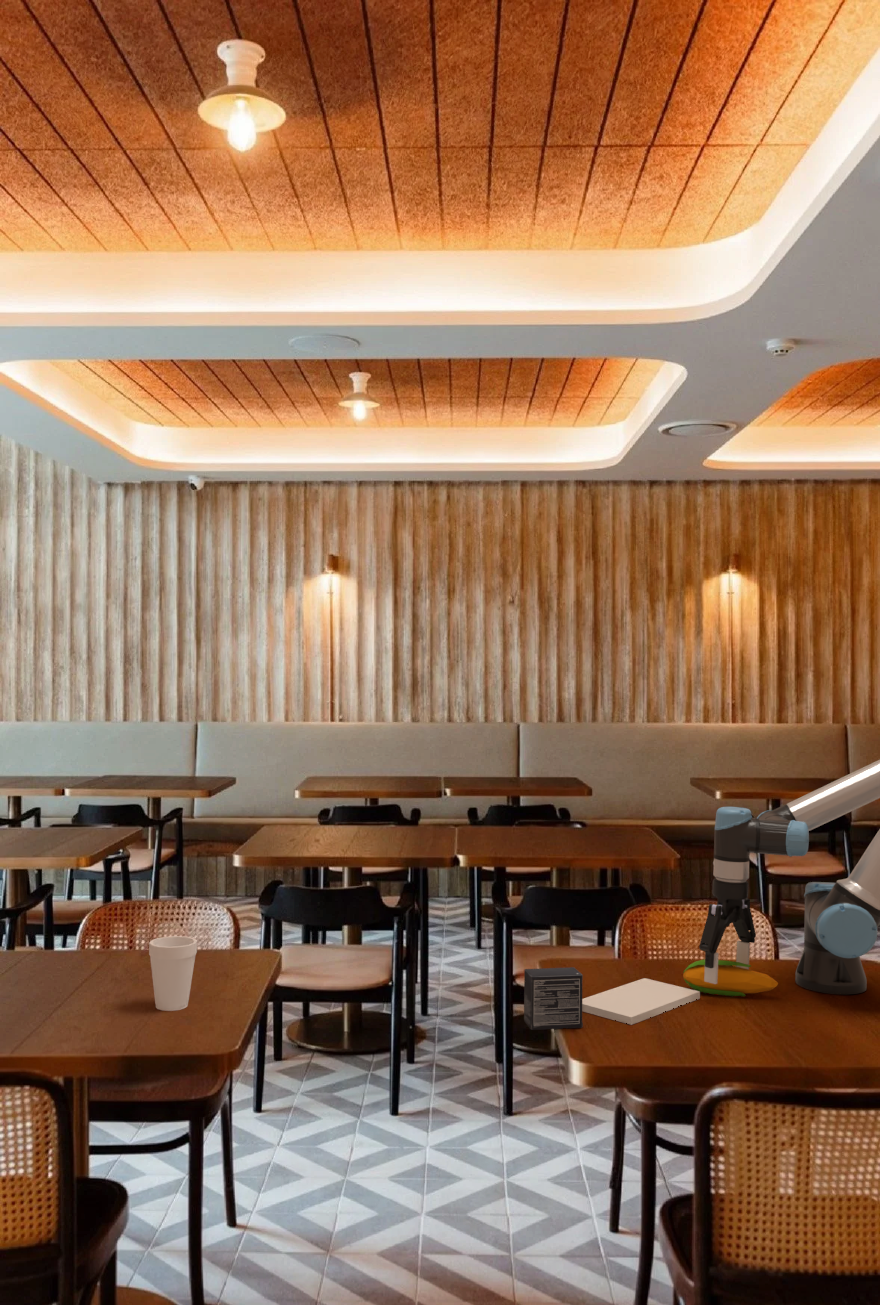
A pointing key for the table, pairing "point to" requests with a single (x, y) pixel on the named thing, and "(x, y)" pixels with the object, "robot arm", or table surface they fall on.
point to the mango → (728, 979)
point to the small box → (553, 998)
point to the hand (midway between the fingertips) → (726, 977)
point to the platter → (638, 1000)
